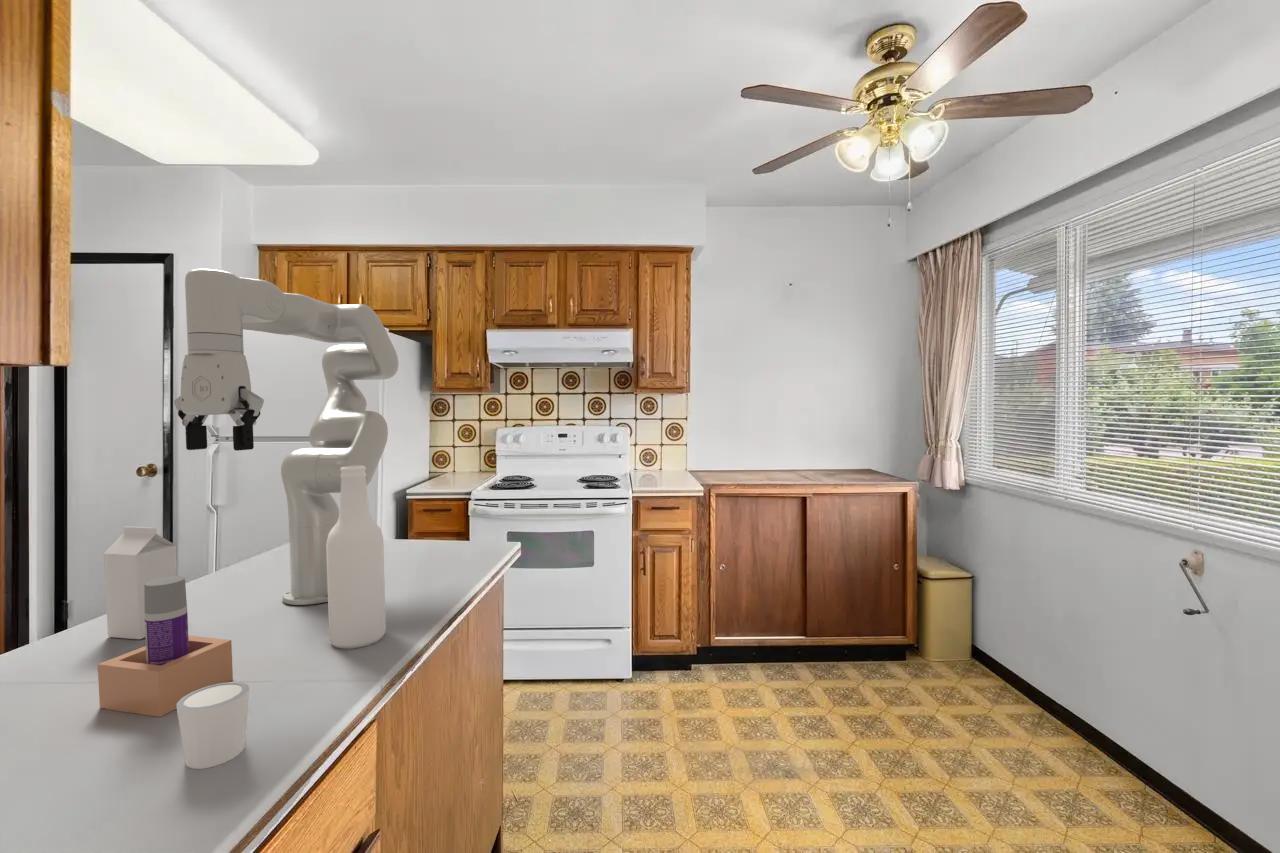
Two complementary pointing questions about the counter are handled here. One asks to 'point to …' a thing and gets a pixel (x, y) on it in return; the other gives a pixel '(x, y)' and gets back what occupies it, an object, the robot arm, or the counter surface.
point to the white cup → (213, 723)
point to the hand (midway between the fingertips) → (220, 449)
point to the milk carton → (134, 577)
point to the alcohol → (355, 568)
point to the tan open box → (163, 677)
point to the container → (165, 620)
